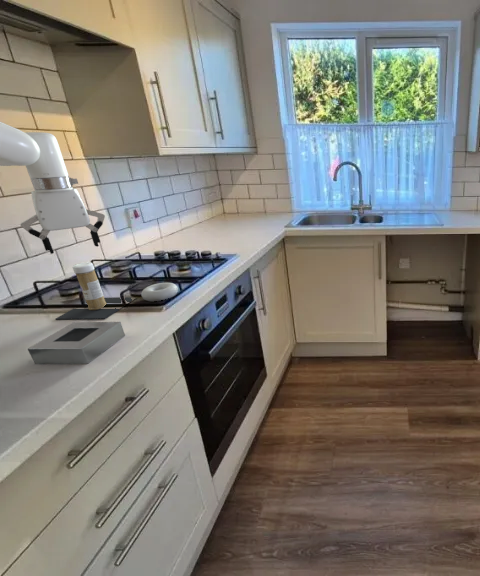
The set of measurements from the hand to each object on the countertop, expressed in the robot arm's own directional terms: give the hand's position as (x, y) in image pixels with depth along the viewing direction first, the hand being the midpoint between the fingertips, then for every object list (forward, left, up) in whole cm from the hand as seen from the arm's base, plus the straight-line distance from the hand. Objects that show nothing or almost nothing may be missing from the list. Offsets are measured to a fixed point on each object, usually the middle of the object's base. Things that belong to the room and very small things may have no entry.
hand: (75, 249), depth 99 cm
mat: (0, 0, -18) cm, 18 cm away
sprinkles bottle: (0, 0, -18) cm, 18 cm away
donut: (+14, +8, -19) cm, 25 cm away
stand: (+13, -22, -18) cm, 31 cm away
